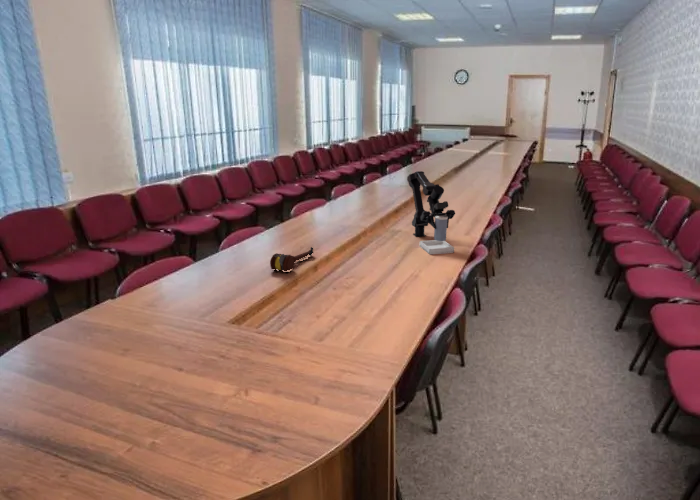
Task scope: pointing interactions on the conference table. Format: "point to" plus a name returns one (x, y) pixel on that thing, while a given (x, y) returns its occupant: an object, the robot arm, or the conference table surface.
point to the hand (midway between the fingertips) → (441, 228)
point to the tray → (436, 247)
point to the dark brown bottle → (286, 260)
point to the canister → (440, 227)
